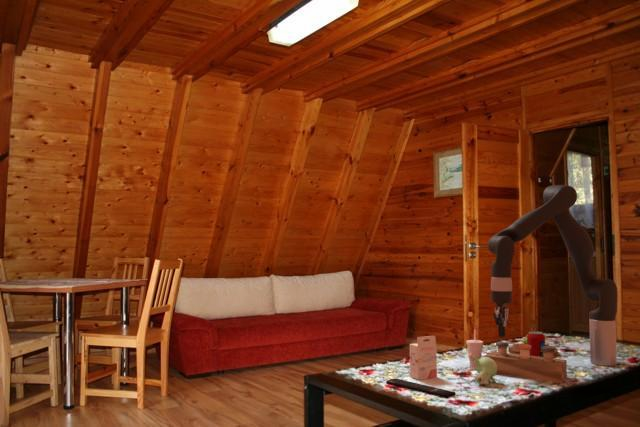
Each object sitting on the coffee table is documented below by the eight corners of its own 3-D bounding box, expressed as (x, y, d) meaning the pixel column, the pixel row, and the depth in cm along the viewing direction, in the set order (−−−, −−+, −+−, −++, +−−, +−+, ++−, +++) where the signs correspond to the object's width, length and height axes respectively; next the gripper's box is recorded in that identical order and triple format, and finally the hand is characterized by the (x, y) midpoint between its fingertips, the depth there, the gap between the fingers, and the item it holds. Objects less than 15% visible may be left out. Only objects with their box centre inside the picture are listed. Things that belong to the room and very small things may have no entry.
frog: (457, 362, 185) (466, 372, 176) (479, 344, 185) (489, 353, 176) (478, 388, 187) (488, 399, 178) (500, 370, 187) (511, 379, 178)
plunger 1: (498, 360, 201) (497, 341, 201) (510, 361, 198) (509, 342, 199) (494, 362, 197) (494, 343, 197) (506, 363, 195) (506, 344, 195)
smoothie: (484, 365, 207) (484, 329, 208) (482, 369, 201) (481, 331, 202) (467, 364, 210) (467, 328, 210) (465, 367, 204) (464, 330, 205)
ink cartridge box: (428, 374, 194) (427, 333, 195) (437, 377, 189) (436, 335, 190) (409, 377, 190) (408, 335, 191) (417, 380, 185) (417, 337, 186)
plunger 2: (543, 365, 192) (542, 346, 192) (556, 367, 189) (556, 347, 190) (540, 368, 188) (540, 348, 188) (554, 369, 186) (553, 349, 186)
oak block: (493, 367, 204) (492, 351, 205) (566, 376, 190) (566, 359, 190) (484, 372, 196) (484, 355, 197) (561, 383, 182) (561, 365, 182)
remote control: (446, 399, 164) (446, 395, 164) (385, 384, 181) (385, 380, 181) (455, 396, 168) (455, 392, 168) (394, 382, 185) (394, 378, 185)
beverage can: (547, 365, 208) (546, 334, 208) (529, 364, 209) (528, 333, 210) (543, 361, 214) (543, 331, 215) (525, 360, 216) (525, 330, 216)
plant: (561, 352, 235) (561, 326, 235) (555, 360, 218) (554, 332, 218) (514, 347, 245) (513, 322, 245) (504, 355, 228) (504, 328, 229)
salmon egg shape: (520, 362, 196) (519, 343, 197) (532, 364, 194) (532, 345, 194) (517, 365, 193) (516, 345, 193) (529, 366, 190) (529, 346, 190)
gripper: (506, 291, 191) (507, 340, 190) (516, 288, 202) (517, 335, 201) (485, 290, 196) (486, 338, 195) (496, 287, 207) (496, 333, 206)
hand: (502, 336), depth 198 cm, fingers closed
